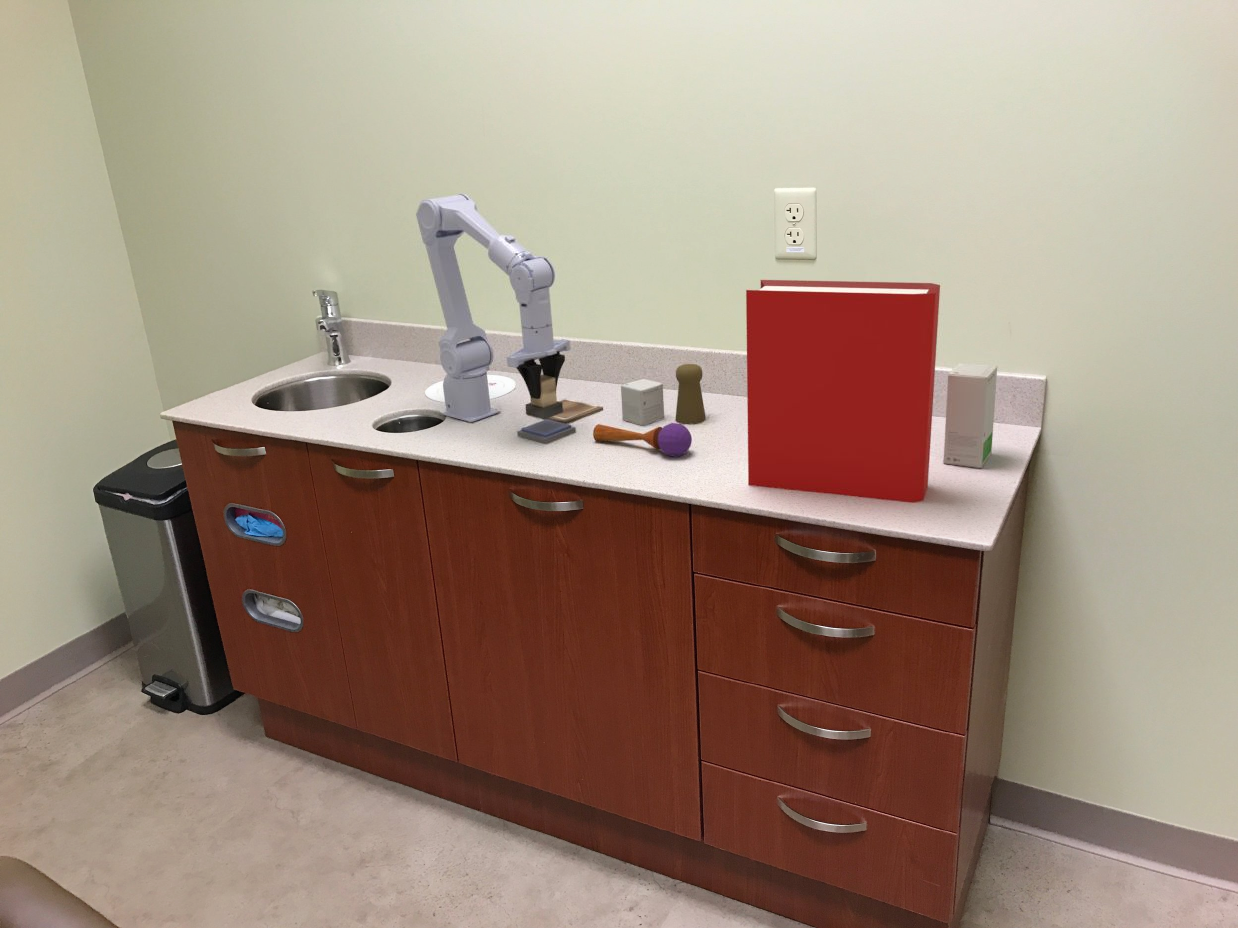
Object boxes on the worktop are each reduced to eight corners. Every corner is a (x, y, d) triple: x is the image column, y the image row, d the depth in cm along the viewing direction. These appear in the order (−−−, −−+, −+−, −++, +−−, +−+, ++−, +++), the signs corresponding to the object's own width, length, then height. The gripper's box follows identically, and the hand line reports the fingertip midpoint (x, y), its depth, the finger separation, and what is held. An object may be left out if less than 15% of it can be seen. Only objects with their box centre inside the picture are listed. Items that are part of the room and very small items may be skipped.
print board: (527, 415, 198) (527, 411, 198) (565, 401, 206) (565, 397, 205) (565, 424, 191) (564, 420, 191) (603, 409, 199) (602, 406, 198)
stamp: (526, 414, 185) (523, 379, 182) (545, 407, 188) (542, 373, 186) (544, 419, 182) (541, 384, 179) (563, 412, 185) (560, 377, 182)
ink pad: (517, 436, 186) (516, 428, 186) (547, 424, 192) (546, 417, 191) (546, 444, 181) (545, 436, 181) (576, 432, 187) (575, 424, 186)
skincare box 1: (642, 426, 188) (640, 390, 185) (621, 420, 192) (619, 384, 189) (665, 418, 191) (663, 383, 189) (644, 412, 196) (642, 377, 193)
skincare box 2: (980, 469, 157) (988, 378, 152) (939, 464, 161) (945, 374, 155) (992, 452, 164) (1000, 364, 158) (952, 447, 167) (958, 360, 162)
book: (748, 485, 157) (746, 290, 146) (761, 467, 164) (760, 279, 152) (922, 503, 146) (934, 294, 135) (928, 484, 153) (941, 283, 142)
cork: (704, 424, 186) (702, 369, 182) (673, 424, 188) (670, 369, 184) (707, 414, 192) (706, 361, 188) (677, 414, 193) (675, 361, 189)
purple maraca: (607, 415, 183) (697, 422, 171) (608, 446, 184) (697, 455, 172) (588, 418, 178) (679, 426, 167) (588, 450, 179) (679, 460, 168)
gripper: (522, 336, 171) (529, 408, 176) (579, 319, 181) (584, 388, 186) (496, 331, 176) (504, 402, 181) (553, 315, 186) (559, 383, 190)
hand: (543, 395), depth 184 cm, fingers closed on stamp, 3 cm apart
